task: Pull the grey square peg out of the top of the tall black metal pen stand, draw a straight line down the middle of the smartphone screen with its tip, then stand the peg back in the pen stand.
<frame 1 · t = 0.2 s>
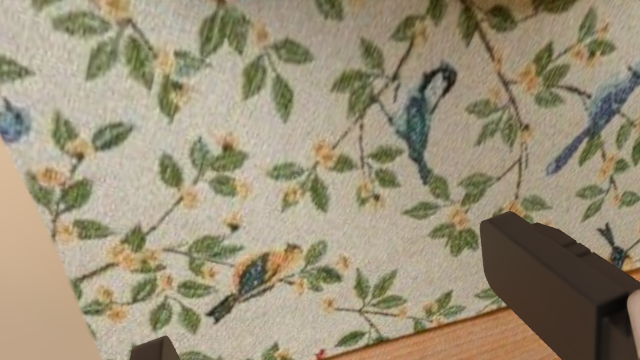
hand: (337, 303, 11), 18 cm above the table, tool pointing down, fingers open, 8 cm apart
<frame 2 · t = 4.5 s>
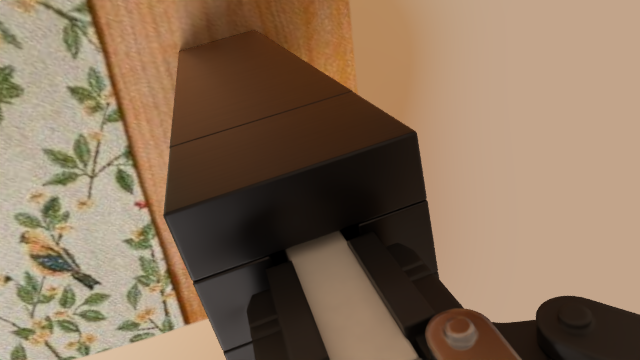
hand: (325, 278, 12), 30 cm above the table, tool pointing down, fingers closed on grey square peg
holder: (288, 200, 17), on the table
grey square peg: (326, 276, 12), in the holder, point 30 cm above the table, touching gripper
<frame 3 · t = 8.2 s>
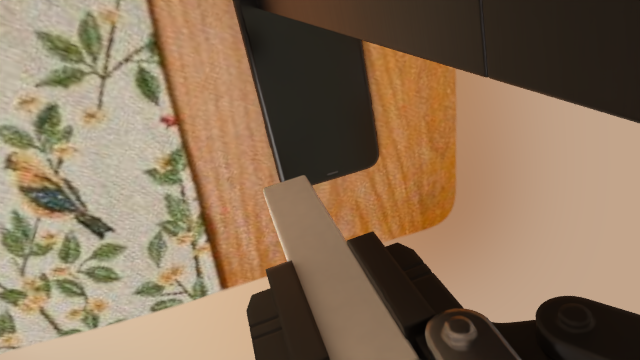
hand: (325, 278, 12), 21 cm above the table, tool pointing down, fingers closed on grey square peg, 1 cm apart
smartphone: (308, 72, 32), on the table
grey square peg: (326, 277, 12), point 21 cm above the table, touching gripper
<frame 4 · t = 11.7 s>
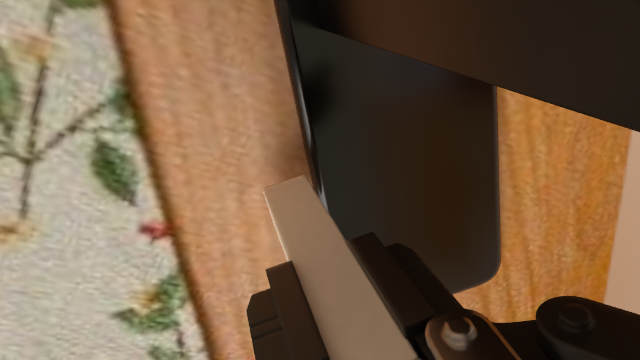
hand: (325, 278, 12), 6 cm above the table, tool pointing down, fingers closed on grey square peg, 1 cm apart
smartphone: (398, 135, 19), on the table
grey square peg: (326, 276, 12), point 6 cm above the table, touching gripper
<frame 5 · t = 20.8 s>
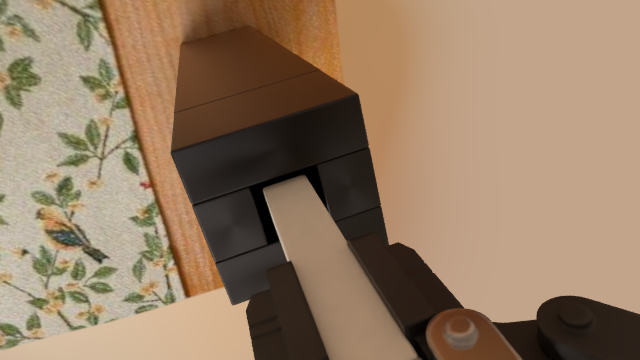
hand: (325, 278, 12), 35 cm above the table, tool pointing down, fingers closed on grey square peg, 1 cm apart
holder: (269, 158, 21), on the table
grey square peg: (326, 276, 12), point 34 cm above the table, touching gripper
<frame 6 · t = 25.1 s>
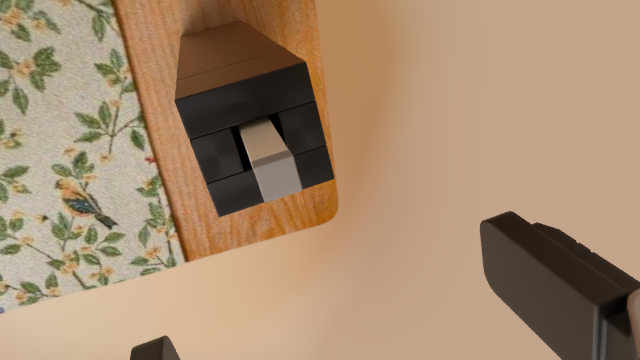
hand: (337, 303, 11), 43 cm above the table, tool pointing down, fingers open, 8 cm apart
holder: (248, 117, 28), on the table
grey square peg: (260, 142, 23), in the holder, point 30 cm above the table
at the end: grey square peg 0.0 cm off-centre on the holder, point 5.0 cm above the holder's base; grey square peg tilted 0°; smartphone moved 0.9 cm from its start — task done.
